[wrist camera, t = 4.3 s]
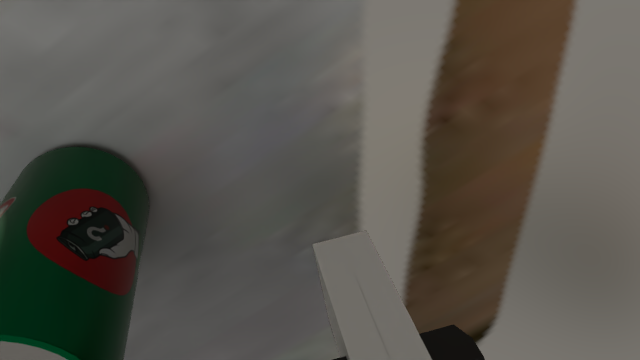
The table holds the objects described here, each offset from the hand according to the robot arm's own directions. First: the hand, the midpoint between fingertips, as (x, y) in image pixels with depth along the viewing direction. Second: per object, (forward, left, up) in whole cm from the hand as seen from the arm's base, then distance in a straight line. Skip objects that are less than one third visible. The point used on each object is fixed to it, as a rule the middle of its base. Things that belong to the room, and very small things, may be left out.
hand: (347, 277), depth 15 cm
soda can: (-9, 0, -10) cm, 13 cm away
